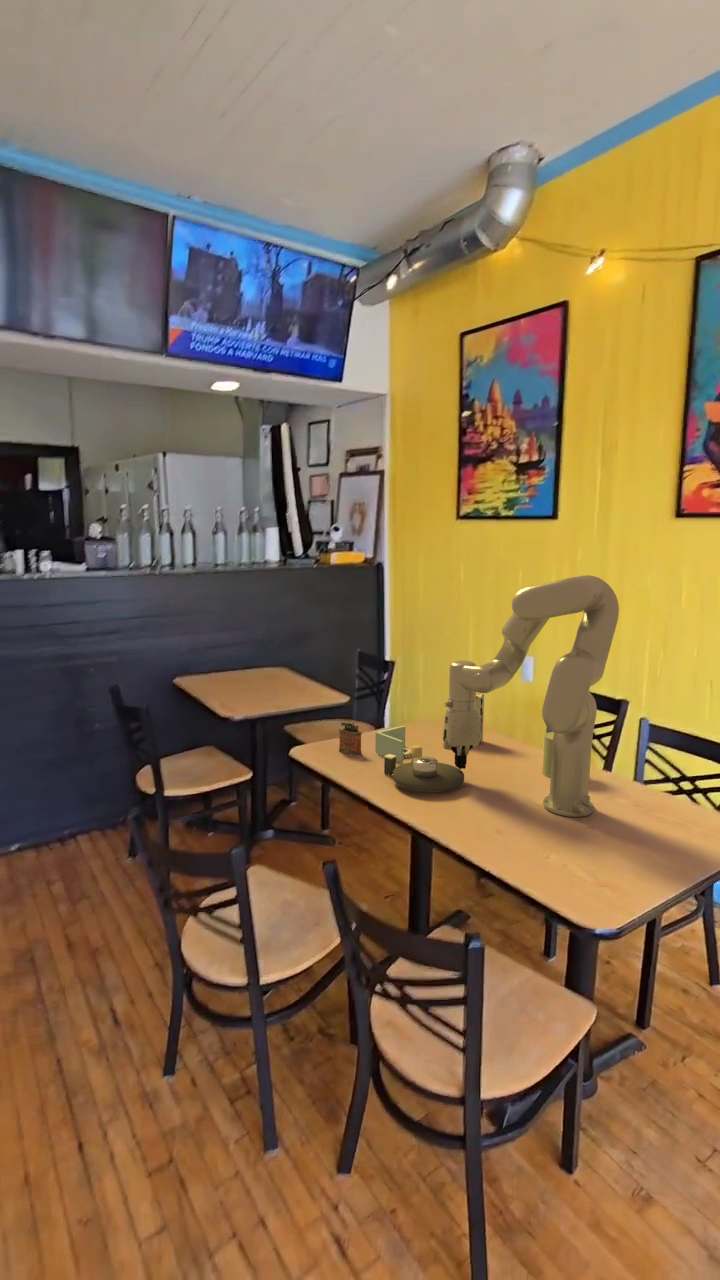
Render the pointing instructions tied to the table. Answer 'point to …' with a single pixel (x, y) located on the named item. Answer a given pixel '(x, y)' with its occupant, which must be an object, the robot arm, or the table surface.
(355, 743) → the lighter
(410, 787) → the turntable
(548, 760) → the can
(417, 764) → the cover
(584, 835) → the table surface
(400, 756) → the l-shaped corner panel
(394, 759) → the post
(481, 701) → the candy bar box
